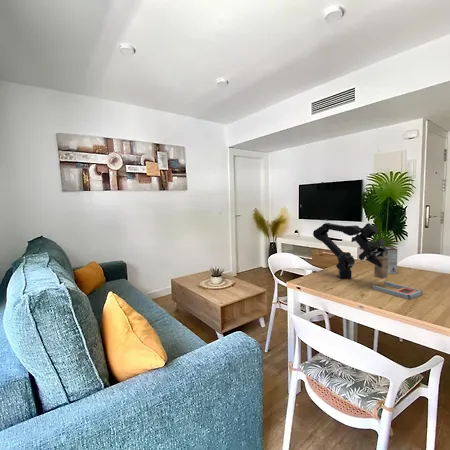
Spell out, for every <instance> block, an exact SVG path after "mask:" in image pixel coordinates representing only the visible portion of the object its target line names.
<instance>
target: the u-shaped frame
mask: <svg viewBox="0 0 450 450" xmlns="http://www.w3.org/2000/svg"><path fill="white" fill-rule="evenodd" d="M383 285H384V286H387V287H390V288H393V289H397V290H399V289H401V288H404V287H405V288H409V289H412V290H416V292H414V293H412V294H409V295H408V294H404V293H400V292H397V291H396V290H392V289H389V288H385V287H381V286H378V285H374V284H373V285H372V290H373V291H378V292H381V293H384V294H388V295H391V296H395V297H398V298H402V299H406V300H409V301H411V300H413V299H416V298H417V297H419V296H423V290H421V289H417V288H414V287H411V286H410V287H409V286H406V285H401V284H397V283H392V282H389V281H383Z"/></svg>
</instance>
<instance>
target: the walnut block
mask: <svg viewBox="0 0 450 450" xmlns="http://www.w3.org/2000/svg"><path fill="white" fill-rule="evenodd" d="M376 258H377V259H378V261H379V262H380V264H381V265H382V267H379V266H377V265H375V264H374V273H373V274H374V275H373V276H374V278H376V279H377V278H378V279H382V280H384V279H387V278H388V275H389V273H388V258H387V257H381V256H378V257H376Z"/></svg>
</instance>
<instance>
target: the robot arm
mask: <svg viewBox="0 0 450 450" xmlns="http://www.w3.org/2000/svg"><path fill="white" fill-rule="evenodd" d="M330 231H335V232H341V233H343V234H344V235H347V236H349V237H350V236H352V237H351V241H350V242H351V243H353V242H355V243H357V245H359V249H360V250H362V252H361V253H360V254H358V259H359V260H360V261H364V260H365V261H367V262H369V263H371V264H373V265H374V266H375V265H377V266H379V267H382V265H381V264H380V262H379V261H378V259H377V258H376V257H378V256H381V257H384V256H383V254H384V252H385V251H386V250H387V249H386V248H385V247H386V246H385V243H386V241H385V240H384V239H382V238H379V239H377V240H376V241H372V240H371V241H370V240H369V239H371V238H372V237H373V236H375V234H377V233H378V232H379V229H378V228H377V226H374V225H373V224H372V223H371V224H370V223H366V224H365V225H364V226H363V227H360V226H359V225H355V224H354V225H343V224H337V223H336V224H335V223H330V222H325V223H323V224H322V225H321V226H319V227H317V228H316V229H314V230H313V232H312V235H313V236H312V237H314V238H315V239H316V240H318V241H320V242H322V243H323V244H324V245H325V246H326V247H327V248H328V249H329V250H330V251H331V253H333V254H334V255H335V256H336V257H337V261H338V263H337V264H336V265H335V267H336V268H337V269H338V275H337V277H338V278H339V279H340V280H352V279H353V278H352V270H351V268H353V266H354V265H355V262H356V260H355V258H354V256H353V255H352V254H351V253H350V252H344V251H343V250H342V249H341V248H340V247H339V246H338V245H337V244H336V243H335V242H334V240H332V239H331V238H330V237H329V234H328V232H330ZM365 258H366V259H365Z"/></svg>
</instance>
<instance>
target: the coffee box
mask: <svg viewBox="0 0 450 450" xmlns="http://www.w3.org/2000/svg"><path fill="white" fill-rule="evenodd" d="M384 247H385V248H386V249H387V250H386V251H385V252H384V254H383V256H384V257H387V258H388V274H395V275H396V274H398V249H397V248H396V247H394V246H384Z"/></svg>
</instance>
